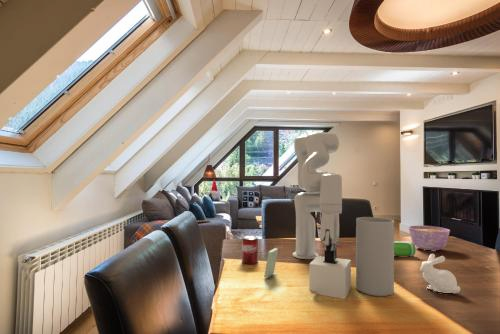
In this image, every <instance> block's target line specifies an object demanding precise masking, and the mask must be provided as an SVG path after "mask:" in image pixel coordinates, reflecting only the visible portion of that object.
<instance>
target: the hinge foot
mask: <svg viewBox="0 0 500 334" xmlns="http://www.w3.org/2000/svg"><path fill="white" fill-rule="evenodd" d="M277 276H278V274H277V273H276V274H275V273H273V274H272V275H271V276H269V277H268V278H266V280H270V281H271V280H273V279H274V278H276V277H277Z"/></svg>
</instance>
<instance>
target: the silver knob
mask: <svg viewBox="0 0 500 334" xmlns="http://www.w3.org/2000/svg"><path fill="white" fill-rule="evenodd" d="M329 241H330V242H332V241H331V240H329ZM322 243H323V244H325V239H324V240H323V241H322ZM339 243H340V240H339V238H338V239H337V240H336V241H334V242H333V251H334V262H326V263H331V264H335V244H336V245H338V244H339ZM330 244H331V243H330Z"/></svg>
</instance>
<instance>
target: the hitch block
mask: <svg viewBox="0 0 500 334" xmlns="http://www.w3.org/2000/svg"><path fill="white" fill-rule="evenodd" d="M308 264H309V270H308V271H309V274H308V276H309V277H308V279H309V280H308V282H309V283H308V285H309V286H308V287H309V289H308V290H309V291H313V294H315V295H319V296H325V297H331V298H337V299H342V300H345V299H346V298H347V296H348V294H349V292H350V289H351V288H352V287H351V285H352V283H351V282H352V281H351V279H352V274H351V273H352V259H348V258H347V259H346V258H340V257H336V260H335V264H331V263H326V262H325V255H324V256H321V255H318V256H317V257H316V258H315V259H312V261H310V263H308Z"/></svg>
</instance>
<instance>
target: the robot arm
mask: <svg viewBox="0 0 500 334" xmlns="http://www.w3.org/2000/svg"><path fill="white" fill-rule="evenodd" d="M293 144H294V147H293V148H294V152H295V155H296V159H297V163H298V164H297V186H298V187H299V189H300V190H303V191H305V192H303V191H302V192H299V193H297V194H296V195H295V196H294V201H293V202H294V209H295V251H294V252H292V256H293V257H294V258H296V259H301V260H314V259H315V258H316V257H317V256H319V253H318V252H316V219H315V218H314V216H313V215H312V214H311V213H314V212H315V213H319V212H320V214H321V219H320V231H319V234H320V235H319V240H320V242H323V240H324V239H325V243H324V257H325V262H334V251H333V242H334V241H336V240H337V239H339V237H340V214H342V213H343V212H342V211H343V178H342V175H341V174H339V173H334V172H328V171H325V170H317V169H320V168H321V167H322V168H323V167H324V166H325V165H327V164H328V163H329V161H330V154H332V153H335V152H337V150H338V149H339V147H340V141H339V137H338V135H337V134H336V133H334V132H320V131H318V132H317V131H316V132H310V133H309V134H307V135H300V136H299V135H298V136H297V137H296V138H295V140H294V143H293ZM329 240H331V241H332V242H330V241H329ZM330 243H331V244H330ZM337 254H338V253H337V244H335V260H336V258H337Z"/></svg>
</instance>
